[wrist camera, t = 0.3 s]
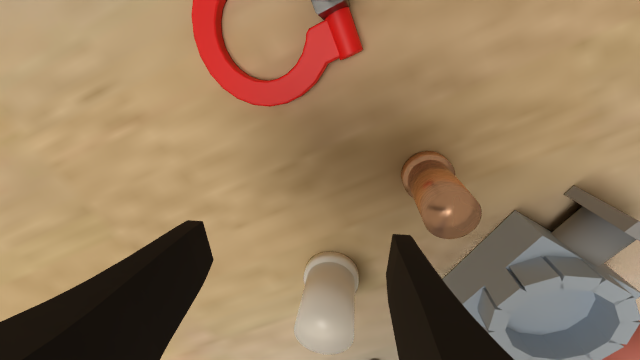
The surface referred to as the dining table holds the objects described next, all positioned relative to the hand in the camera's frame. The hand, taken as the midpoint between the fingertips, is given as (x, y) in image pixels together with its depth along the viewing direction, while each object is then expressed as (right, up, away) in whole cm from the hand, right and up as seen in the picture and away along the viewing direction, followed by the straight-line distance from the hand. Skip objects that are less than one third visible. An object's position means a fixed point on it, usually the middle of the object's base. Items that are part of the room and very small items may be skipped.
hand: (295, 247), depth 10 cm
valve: (+18, -5, +11) cm, 22 cm away
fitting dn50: (+2, -6, +14) cm, 15 cm away
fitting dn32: (+9, +3, +9) cm, 13 cm away
